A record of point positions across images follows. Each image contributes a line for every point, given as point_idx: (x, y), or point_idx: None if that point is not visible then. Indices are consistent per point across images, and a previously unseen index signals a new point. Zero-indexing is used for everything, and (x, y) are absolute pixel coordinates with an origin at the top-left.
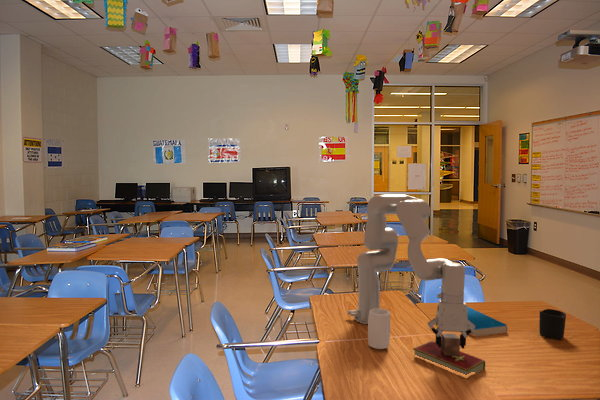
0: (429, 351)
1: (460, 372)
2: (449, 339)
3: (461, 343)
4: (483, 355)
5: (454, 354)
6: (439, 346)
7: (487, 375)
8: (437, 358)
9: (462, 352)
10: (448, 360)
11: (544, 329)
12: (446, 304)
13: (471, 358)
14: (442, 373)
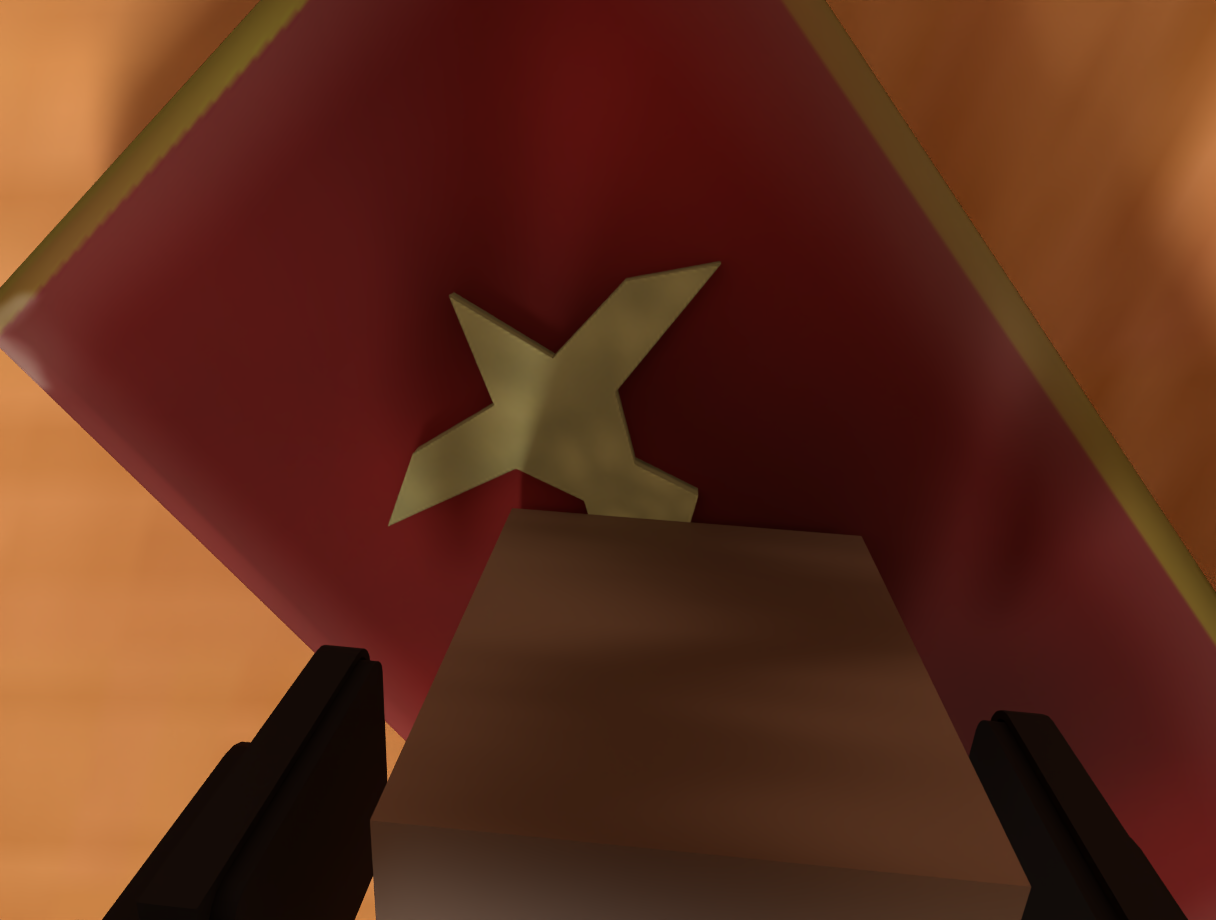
0: (1105, 752)
1: None
2: (841, 847)
3: (342, 792)
4: (28, 773)
5: (627, 532)
6: (1047, 730)
7: (108, 40)
8: (1101, 421)
9: None
10: (871, 302)
11: None
12: None
13: (256, 421)
14: (1030, 94)
